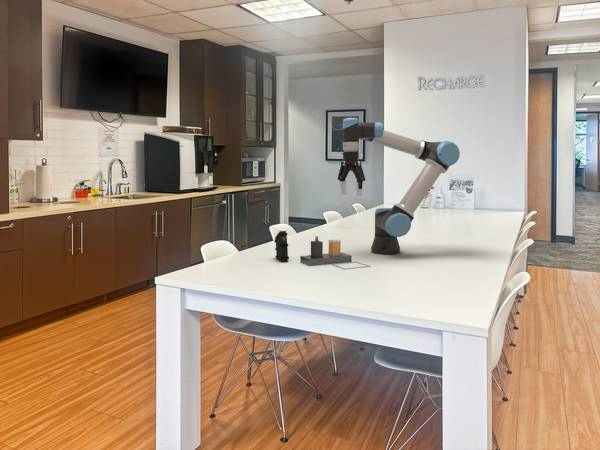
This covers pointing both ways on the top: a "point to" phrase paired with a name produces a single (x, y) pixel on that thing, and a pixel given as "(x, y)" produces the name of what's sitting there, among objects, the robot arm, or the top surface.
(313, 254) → the twin plug
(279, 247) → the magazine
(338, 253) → the plug
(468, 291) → the top surface
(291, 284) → the top surface
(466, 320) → the top surface
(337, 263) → the tray
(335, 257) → the slotted metal block
